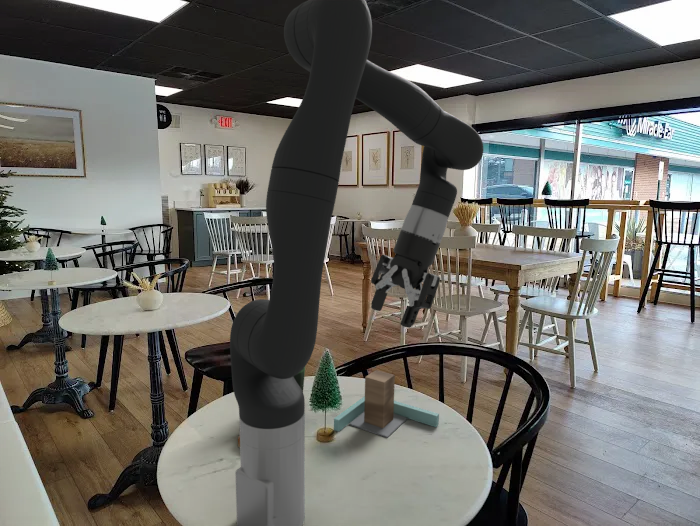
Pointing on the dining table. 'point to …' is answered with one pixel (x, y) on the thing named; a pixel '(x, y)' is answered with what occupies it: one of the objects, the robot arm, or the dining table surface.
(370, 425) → the teal corner fixture
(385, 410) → the walnut block
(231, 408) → the dining table surface
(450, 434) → the dining table surface
